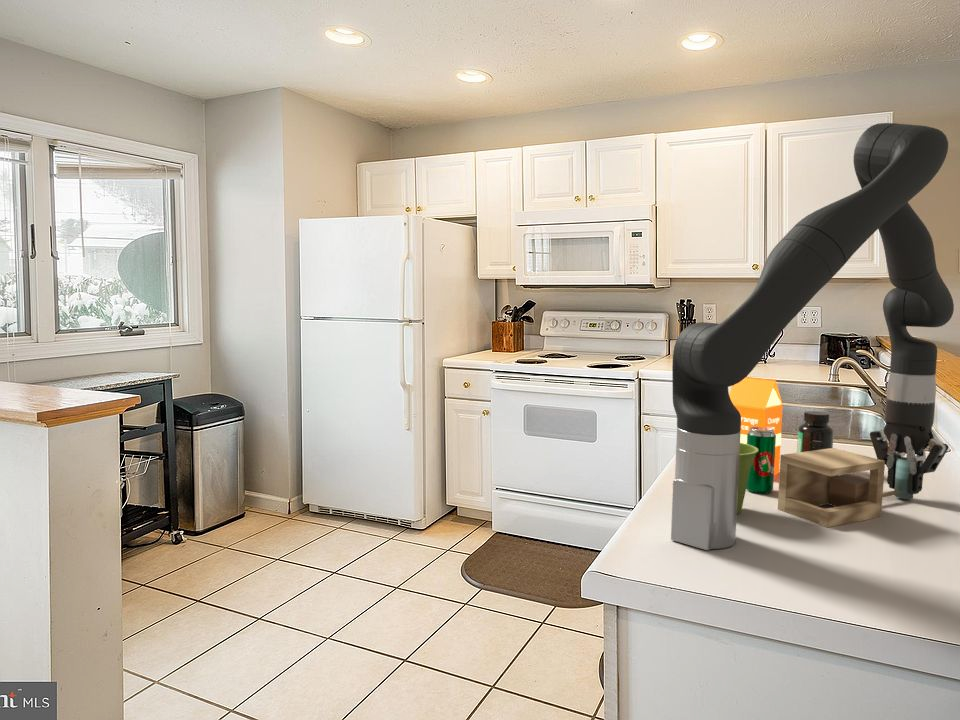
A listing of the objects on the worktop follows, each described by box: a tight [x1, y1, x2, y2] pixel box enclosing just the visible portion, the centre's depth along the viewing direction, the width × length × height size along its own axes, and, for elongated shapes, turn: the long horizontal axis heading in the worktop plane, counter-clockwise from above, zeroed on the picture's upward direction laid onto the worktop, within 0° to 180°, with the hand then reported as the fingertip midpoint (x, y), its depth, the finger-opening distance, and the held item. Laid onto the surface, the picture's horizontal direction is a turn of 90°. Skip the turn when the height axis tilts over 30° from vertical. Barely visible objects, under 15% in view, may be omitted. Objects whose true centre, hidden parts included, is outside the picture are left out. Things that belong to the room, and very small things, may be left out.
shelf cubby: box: [777, 447, 886, 528], centre depth 118 cm, size 13×10×10 cm
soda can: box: [746, 427, 776, 495], centre depth 131 cm, size 5×5×12 cm
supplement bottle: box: [796, 410, 835, 453], centre depth 148 cm, size 7×7×12 cm
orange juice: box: [729, 376, 784, 476], centre depth 144 cm, size 8×9×20 cm
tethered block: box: [828, 456, 914, 507], centre depth 124 cm, size 18×5×7 cm, turn 114°
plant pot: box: [737, 443, 759, 514], centre depth 120 cm, size 12×12×11 cm
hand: (903, 490), depth 127 cm, fingers closed on tethered block, 3 cm apart
